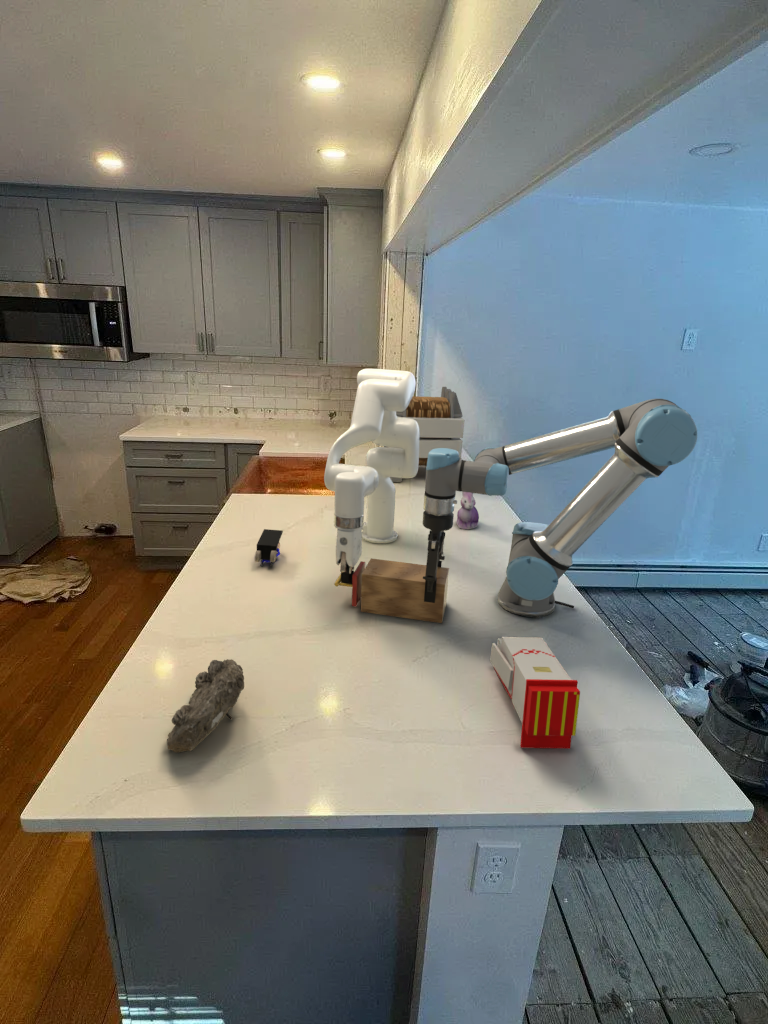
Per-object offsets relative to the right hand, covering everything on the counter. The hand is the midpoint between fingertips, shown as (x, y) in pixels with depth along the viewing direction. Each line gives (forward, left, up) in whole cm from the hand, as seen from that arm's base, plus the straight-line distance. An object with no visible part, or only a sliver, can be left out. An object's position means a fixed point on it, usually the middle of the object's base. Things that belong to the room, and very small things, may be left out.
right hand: (432, 591), depth 147 cm
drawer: (+12, -5, -5) cm, 14 cm away
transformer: (-25, -131, -6) cm, 134 cm away
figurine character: (+43, -35, -6) cm, 56 cm away
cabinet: (+7, -2, -6) cm, 9 cm away
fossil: (+51, +36, -6) cm, 63 cm away
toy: (-11, +37, -6) cm, 39 cm away
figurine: (-28, -61, -6) cm, 68 cm away
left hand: (+21, -8, -1) cm, 23 cm away
